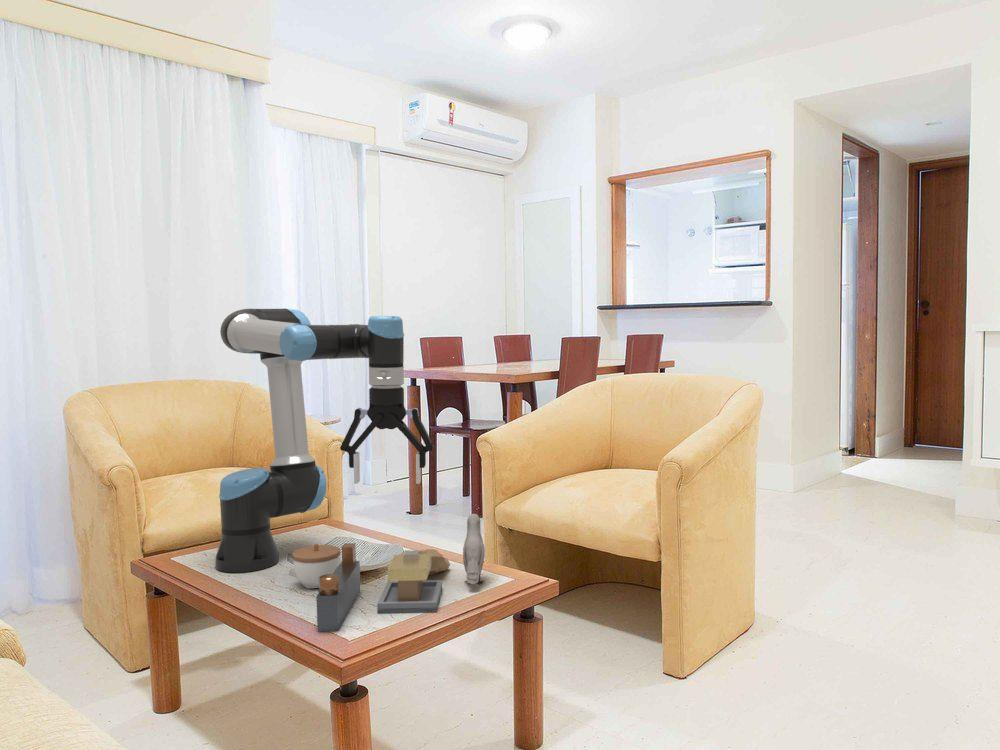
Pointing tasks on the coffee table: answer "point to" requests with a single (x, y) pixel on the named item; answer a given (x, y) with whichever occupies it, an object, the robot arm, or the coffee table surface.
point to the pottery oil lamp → (436, 561)
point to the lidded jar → (315, 563)
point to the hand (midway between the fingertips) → (387, 482)
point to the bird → (473, 550)
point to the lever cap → (409, 566)
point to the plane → (338, 591)
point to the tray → (410, 605)
